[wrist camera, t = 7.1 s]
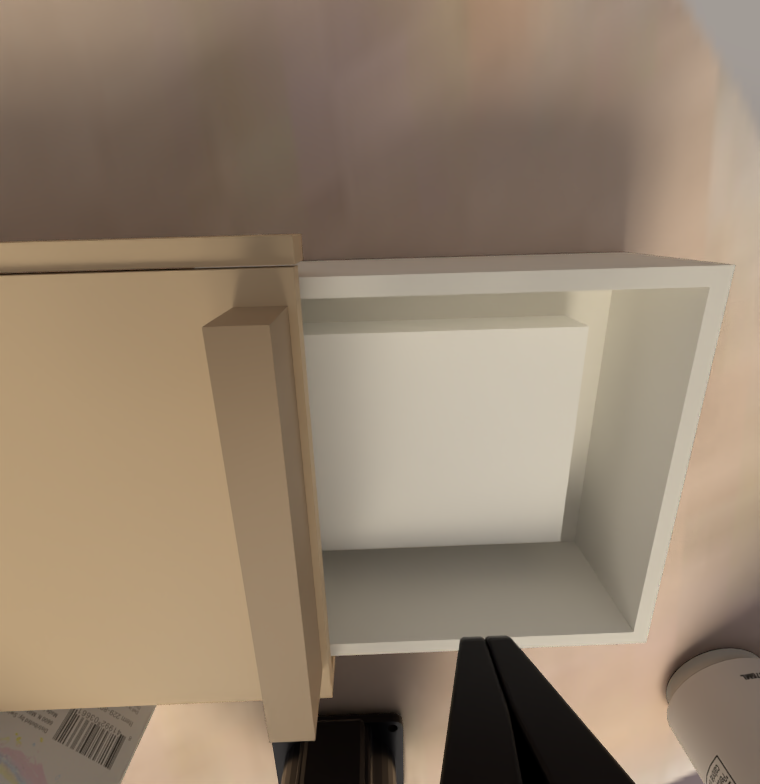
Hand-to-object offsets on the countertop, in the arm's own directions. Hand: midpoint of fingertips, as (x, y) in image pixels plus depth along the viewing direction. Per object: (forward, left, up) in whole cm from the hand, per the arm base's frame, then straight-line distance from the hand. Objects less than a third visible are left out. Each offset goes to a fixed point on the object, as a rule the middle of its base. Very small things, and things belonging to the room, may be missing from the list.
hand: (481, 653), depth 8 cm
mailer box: (0, 0, -10) cm, 10 cm away
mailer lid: (0, +11, -6) cm, 12 cm away
